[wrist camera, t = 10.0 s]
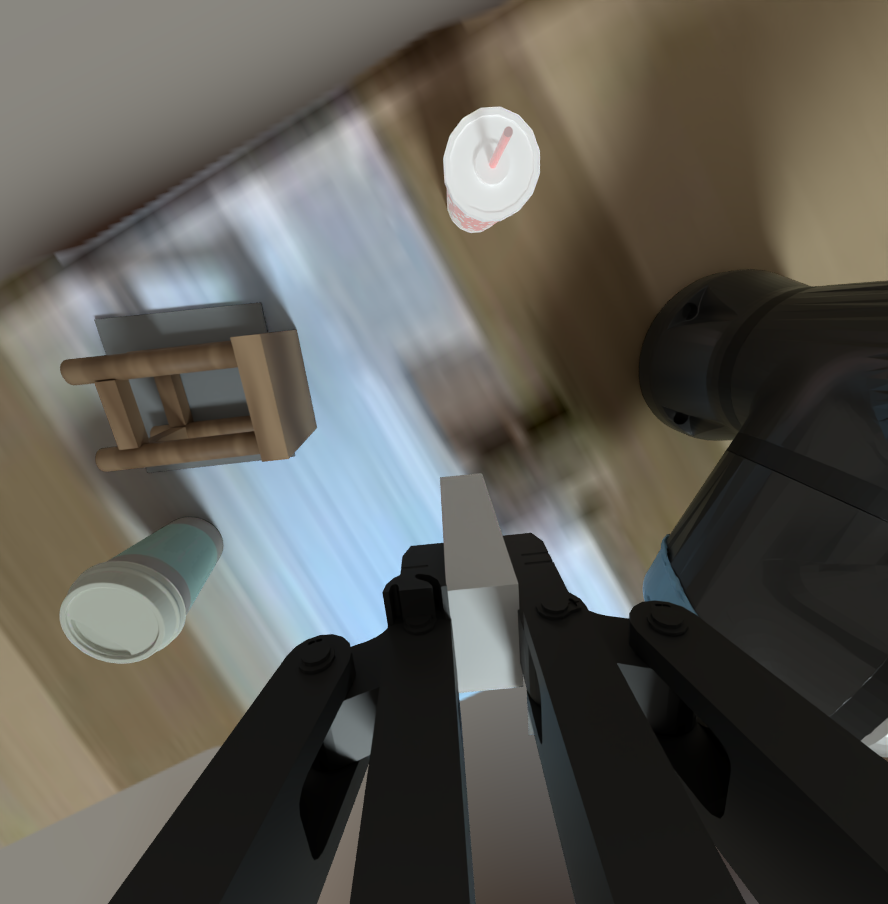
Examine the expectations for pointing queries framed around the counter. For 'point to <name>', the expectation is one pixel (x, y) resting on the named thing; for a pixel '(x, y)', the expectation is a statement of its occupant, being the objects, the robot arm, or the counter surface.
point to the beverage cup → (489, 168)
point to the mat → (205, 389)
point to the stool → (263, 432)
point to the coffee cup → (141, 593)
